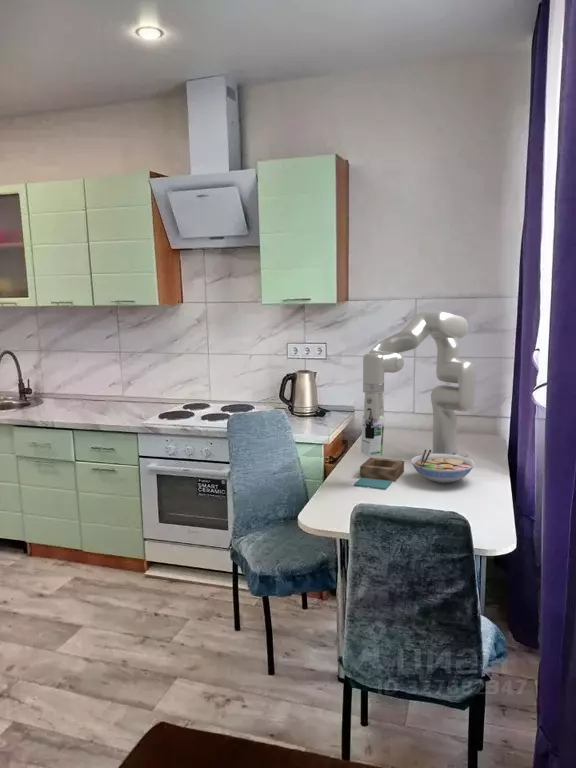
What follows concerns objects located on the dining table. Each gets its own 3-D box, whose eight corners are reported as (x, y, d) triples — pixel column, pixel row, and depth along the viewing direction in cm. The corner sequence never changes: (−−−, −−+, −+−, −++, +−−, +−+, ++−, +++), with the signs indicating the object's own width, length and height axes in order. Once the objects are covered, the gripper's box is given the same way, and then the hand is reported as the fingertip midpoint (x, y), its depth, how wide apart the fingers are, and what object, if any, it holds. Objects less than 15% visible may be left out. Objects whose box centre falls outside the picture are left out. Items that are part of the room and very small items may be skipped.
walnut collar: (403, 471, 235) (404, 460, 234) (395, 481, 223) (395, 470, 222) (370, 468, 240) (370, 457, 240) (360, 477, 228) (360, 466, 228)
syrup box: (369, 457, 215) (372, 417, 212) (359, 452, 220) (362, 414, 218) (382, 455, 218) (385, 416, 215) (372, 451, 223) (375, 413, 220)
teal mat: (392, 482, 222) (392, 480, 222) (385, 489, 214) (385, 488, 214) (361, 478, 227) (361, 477, 227) (353, 485, 219) (353, 484, 219)
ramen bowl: (471, 494, 208) (472, 471, 206) (405, 487, 216) (405, 465, 214) (476, 473, 231) (476, 453, 230) (415, 468, 239) (416, 448, 238)
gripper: (376, 392, 206) (376, 442, 208) (390, 385, 221) (389, 431, 224) (355, 391, 209) (355, 440, 211) (370, 384, 224) (370, 430, 227)
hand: (373, 435), depth 218 cm, fingers closed on syrup box, 7 cm apart
